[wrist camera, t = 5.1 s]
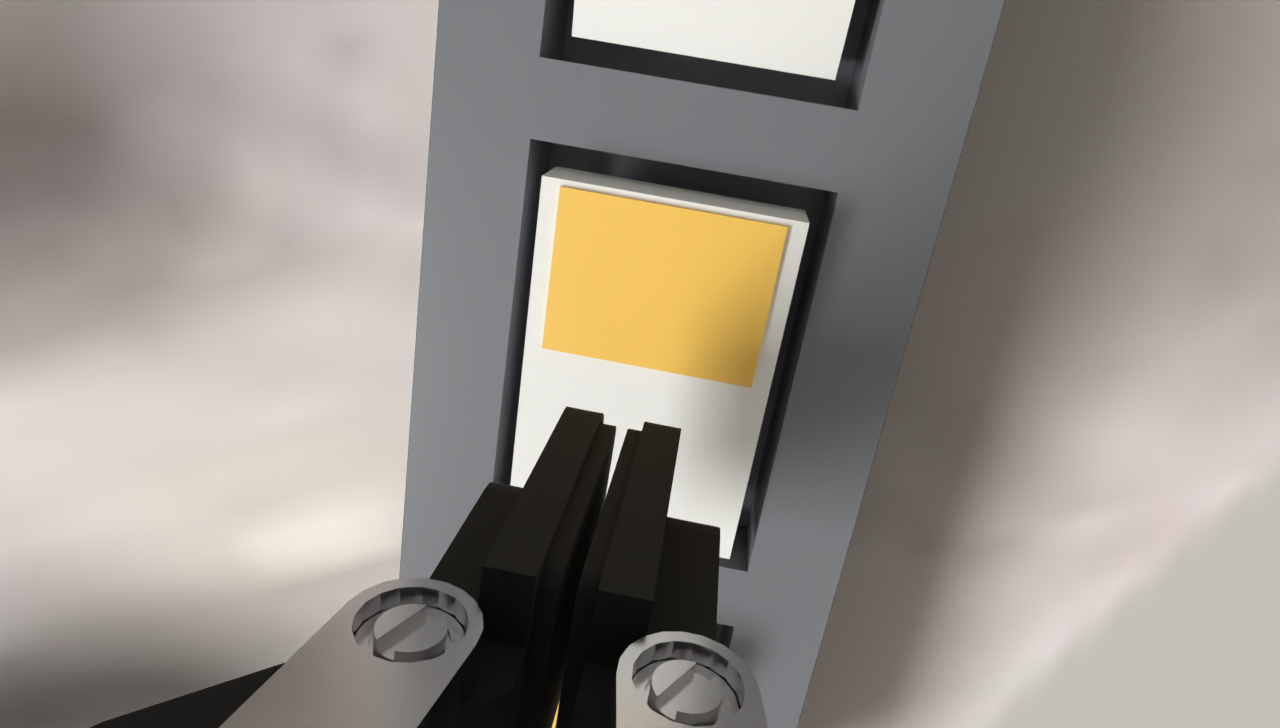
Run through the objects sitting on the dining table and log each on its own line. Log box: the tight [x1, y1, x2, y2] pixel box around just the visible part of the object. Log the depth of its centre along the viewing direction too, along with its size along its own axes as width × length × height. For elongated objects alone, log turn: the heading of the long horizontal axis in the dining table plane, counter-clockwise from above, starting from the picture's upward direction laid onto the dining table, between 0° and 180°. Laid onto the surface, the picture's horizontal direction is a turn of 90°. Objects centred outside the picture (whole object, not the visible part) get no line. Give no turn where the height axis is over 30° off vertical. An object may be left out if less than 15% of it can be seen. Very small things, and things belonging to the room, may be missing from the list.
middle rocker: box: [510, 166, 810, 559], centre depth 13 cm, size 6×4×1 cm, turn 171°
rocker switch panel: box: [399, 0, 1005, 728], centre depth 15 cm, size 32×8×5 cm, turn 171°
